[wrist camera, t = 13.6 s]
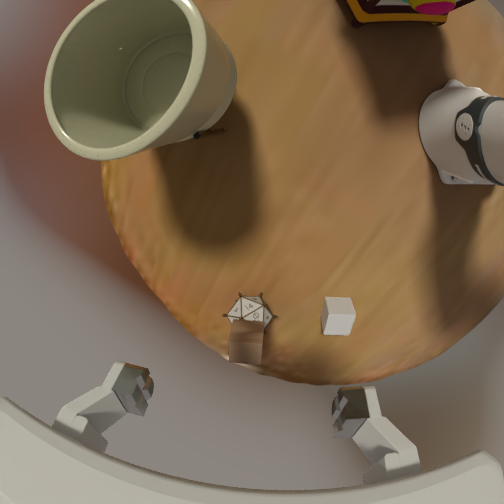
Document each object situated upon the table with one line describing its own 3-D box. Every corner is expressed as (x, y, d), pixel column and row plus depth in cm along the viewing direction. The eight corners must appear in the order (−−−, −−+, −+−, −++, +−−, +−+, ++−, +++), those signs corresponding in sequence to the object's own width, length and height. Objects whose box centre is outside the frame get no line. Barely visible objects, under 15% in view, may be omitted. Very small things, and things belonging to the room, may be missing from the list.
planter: (146, 54, 31) (45, 24, 11) (246, 40, 30) (209, -37, 10) (147, 141, 38) (43, 172, 18) (246, 135, 37) (207, 152, 17)
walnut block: (264, 321, 42) (262, 343, 38) (263, 342, 45) (260, 364, 40) (233, 319, 43) (228, 340, 38) (233, 340, 45) (229, 362, 41)
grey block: (350, 297, 48) (356, 314, 44) (344, 317, 51) (349, 335, 46) (325, 296, 49) (328, 313, 44) (320, 316, 51) (323, 334, 47)
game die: (246, 285, 53) (225, 283, 44) (286, 299, 50) (273, 301, 41) (231, 326, 53) (208, 333, 44) (270, 343, 50) (254, 354, 41)
